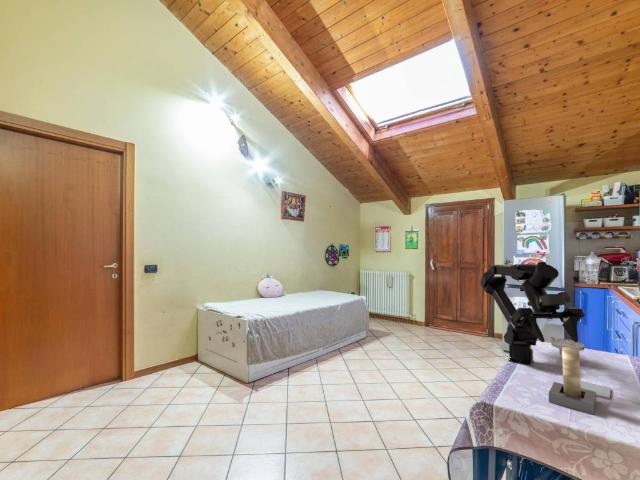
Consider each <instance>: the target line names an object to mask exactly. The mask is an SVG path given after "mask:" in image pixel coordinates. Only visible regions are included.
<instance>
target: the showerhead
mask: <svg viewBox="0 0 640 480" xmlns="http://www.w3.org/2000/svg"><path fill="white" fill-rule="evenodd" d="M550 339H551V341H550V343H551V346H553V347H555V348H557V349H558V351H559V355H561V356H562V348H563V347H569V348H575V349H578V350H579V352H583V351H585V348H586V347H585V343H582V342H579V341H578V342H577V343H575V342H574V341H573V340H572V339H566V338H555V337H553V336H551V337H550Z"/></svg>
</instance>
